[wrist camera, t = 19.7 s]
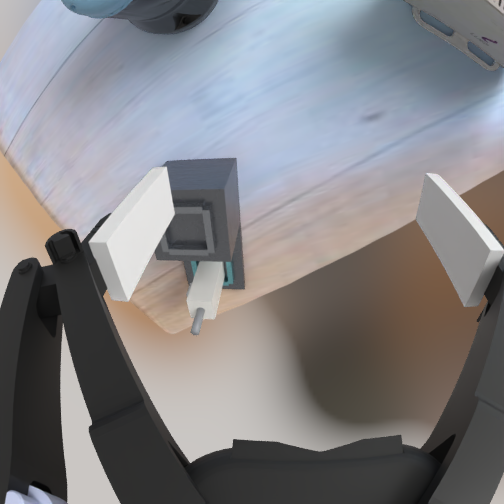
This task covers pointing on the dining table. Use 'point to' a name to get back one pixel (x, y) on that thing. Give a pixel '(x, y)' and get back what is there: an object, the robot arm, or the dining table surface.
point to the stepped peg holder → (205, 218)
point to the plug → (205, 292)
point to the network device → (468, 25)
